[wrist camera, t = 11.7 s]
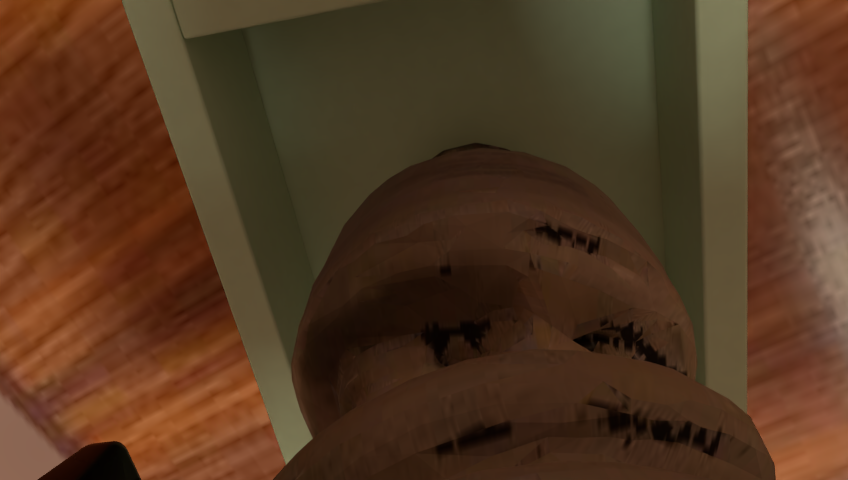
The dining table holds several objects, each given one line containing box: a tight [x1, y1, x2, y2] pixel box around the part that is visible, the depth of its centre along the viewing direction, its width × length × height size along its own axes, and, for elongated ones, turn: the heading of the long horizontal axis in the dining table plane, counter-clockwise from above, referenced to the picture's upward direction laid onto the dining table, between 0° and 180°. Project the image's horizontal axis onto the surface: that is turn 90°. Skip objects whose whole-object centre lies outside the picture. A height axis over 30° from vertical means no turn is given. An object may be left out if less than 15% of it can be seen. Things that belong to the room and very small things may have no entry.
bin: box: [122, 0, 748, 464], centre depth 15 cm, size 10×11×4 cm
